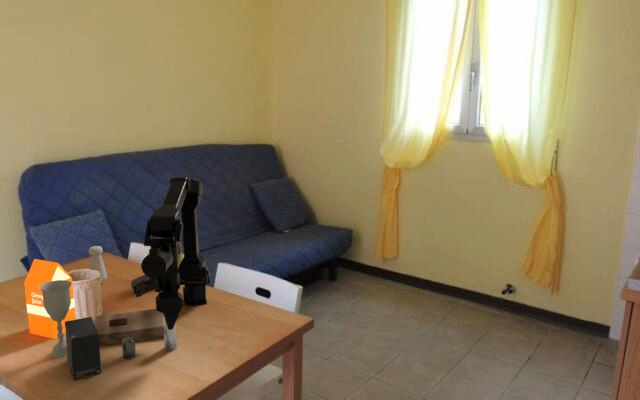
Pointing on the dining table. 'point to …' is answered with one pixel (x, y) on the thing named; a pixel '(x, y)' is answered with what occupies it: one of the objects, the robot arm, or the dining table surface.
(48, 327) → the orange juice
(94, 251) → the salt shaker
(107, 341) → the pin board
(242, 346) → the dining table surface
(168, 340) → the long pin
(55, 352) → the chalice
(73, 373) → the small box
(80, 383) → the dining table surface
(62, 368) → the dining table surface
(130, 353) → the short pin
